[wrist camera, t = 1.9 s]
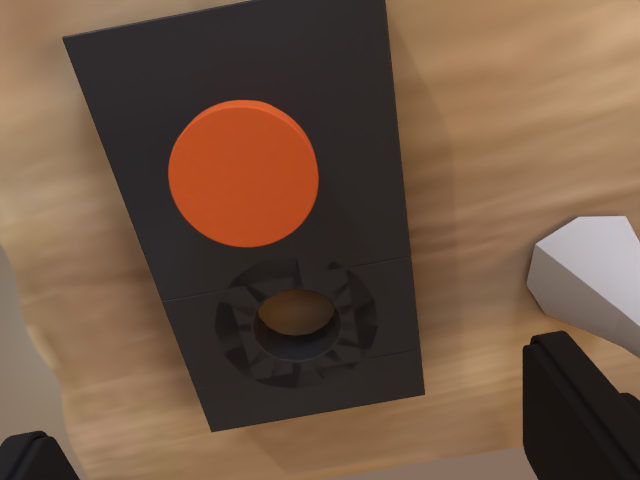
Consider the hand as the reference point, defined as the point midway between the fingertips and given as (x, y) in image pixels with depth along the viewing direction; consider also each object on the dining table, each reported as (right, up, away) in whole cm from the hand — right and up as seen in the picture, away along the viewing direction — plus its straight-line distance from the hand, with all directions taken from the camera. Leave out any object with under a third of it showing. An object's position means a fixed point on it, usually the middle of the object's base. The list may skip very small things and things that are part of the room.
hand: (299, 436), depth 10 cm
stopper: (-3, +9, +14) cm, 16 cm away
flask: (+17, +2, +21) cm, 27 cm away
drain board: (-2, +4, +18) cm, 19 cm away
